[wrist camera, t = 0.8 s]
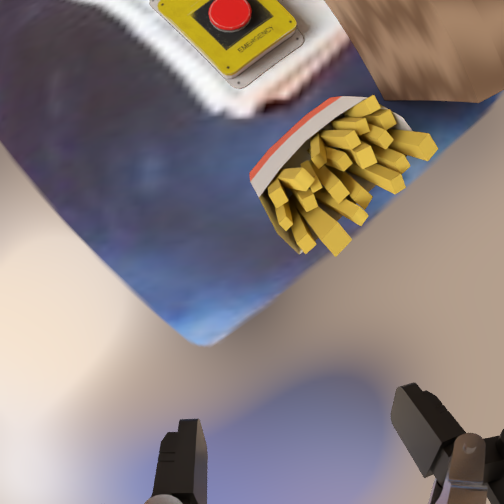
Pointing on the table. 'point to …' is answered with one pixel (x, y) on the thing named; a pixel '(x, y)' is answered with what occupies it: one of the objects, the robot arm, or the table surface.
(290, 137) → the french fries container
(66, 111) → the table surface
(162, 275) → the table surface
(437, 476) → the robot arm
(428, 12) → the key panel
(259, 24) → the emergency button
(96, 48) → the table surface
